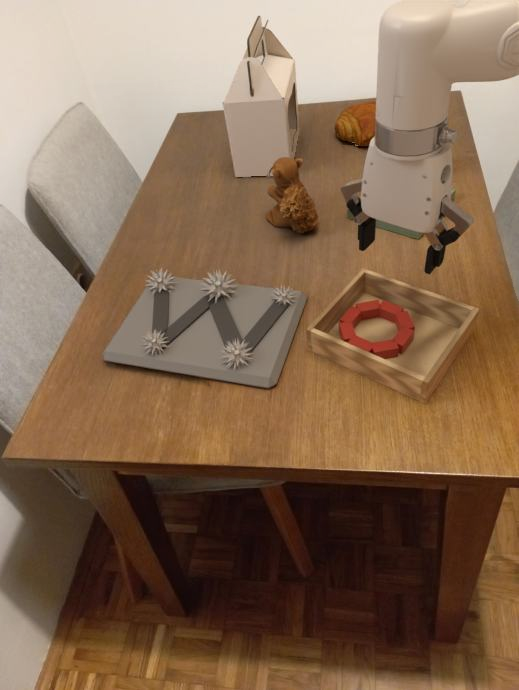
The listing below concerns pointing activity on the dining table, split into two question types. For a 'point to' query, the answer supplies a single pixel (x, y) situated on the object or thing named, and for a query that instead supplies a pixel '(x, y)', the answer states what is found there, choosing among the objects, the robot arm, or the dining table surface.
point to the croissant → (357, 123)
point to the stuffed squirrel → (290, 198)
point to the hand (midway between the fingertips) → (398, 256)
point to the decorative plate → (209, 329)
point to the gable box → (262, 105)
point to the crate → (429, 337)
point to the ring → (383, 311)
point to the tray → (397, 228)
